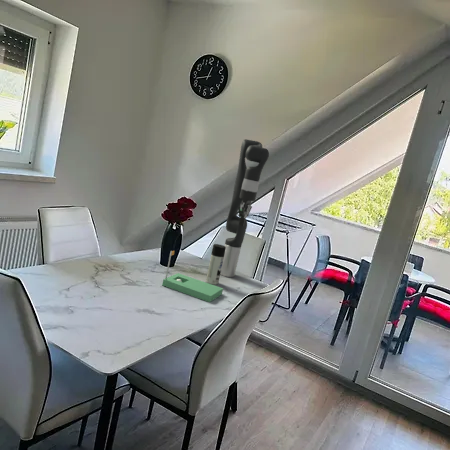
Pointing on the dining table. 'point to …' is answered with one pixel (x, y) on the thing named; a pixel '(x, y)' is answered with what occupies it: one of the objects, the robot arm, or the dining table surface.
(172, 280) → the putting green
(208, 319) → the dining table surface
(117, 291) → the dining table surface
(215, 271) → the spray can
